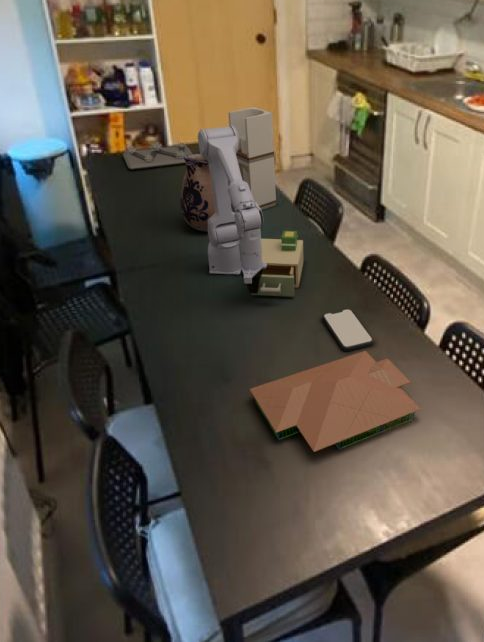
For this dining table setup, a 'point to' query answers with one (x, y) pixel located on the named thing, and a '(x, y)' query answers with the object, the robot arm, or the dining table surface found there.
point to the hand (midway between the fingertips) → (254, 292)
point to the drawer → (277, 281)
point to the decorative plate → (156, 156)
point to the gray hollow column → (256, 152)
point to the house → (336, 400)
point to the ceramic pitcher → (197, 192)
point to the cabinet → (283, 256)
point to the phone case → (347, 330)
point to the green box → (289, 240)
